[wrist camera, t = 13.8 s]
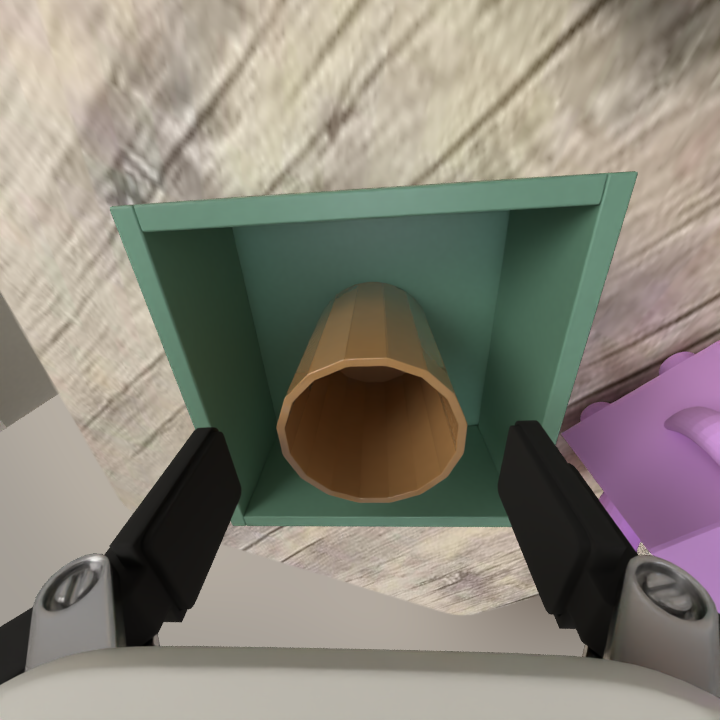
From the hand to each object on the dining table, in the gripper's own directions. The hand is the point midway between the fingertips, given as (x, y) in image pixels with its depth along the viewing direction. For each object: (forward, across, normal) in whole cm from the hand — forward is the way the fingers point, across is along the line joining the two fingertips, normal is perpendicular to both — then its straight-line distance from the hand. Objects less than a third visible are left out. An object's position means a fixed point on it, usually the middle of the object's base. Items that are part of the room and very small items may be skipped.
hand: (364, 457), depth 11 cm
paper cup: (+10, 0, 0) cm, 10 cm away
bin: (+11, 0, 0) cm, 11 cm away
